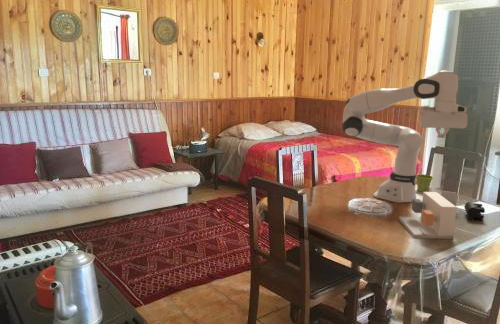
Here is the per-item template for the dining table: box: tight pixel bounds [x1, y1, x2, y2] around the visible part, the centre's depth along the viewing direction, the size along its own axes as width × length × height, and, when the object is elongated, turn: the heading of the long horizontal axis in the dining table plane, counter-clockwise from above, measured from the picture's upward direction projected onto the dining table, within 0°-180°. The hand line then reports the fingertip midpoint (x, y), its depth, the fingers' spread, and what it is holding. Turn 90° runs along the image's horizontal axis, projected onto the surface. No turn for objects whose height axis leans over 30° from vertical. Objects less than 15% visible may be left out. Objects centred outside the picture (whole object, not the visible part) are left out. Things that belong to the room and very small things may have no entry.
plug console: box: [398, 191, 458, 240], centre depth 183 cm, size 16×22×14 cm
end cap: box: [464, 200, 486, 222], centre depth 199 cm, size 10×7×7 cm
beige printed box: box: [441, 190, 458, 207], centre depth 208 cm, size 4×7×10 cm, turn 56°
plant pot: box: [416, 173, 434, 193], centre depth 244 cm, size 9×9×9 cm
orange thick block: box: [422, 210, 436, 226], centre depth 175 cm, size 4×5×5 cm
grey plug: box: [411, 198, 425, 214], centre depth 190 cm, size 4×5×5 cm
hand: (441, 137), depth 189 cm, fingers closed
